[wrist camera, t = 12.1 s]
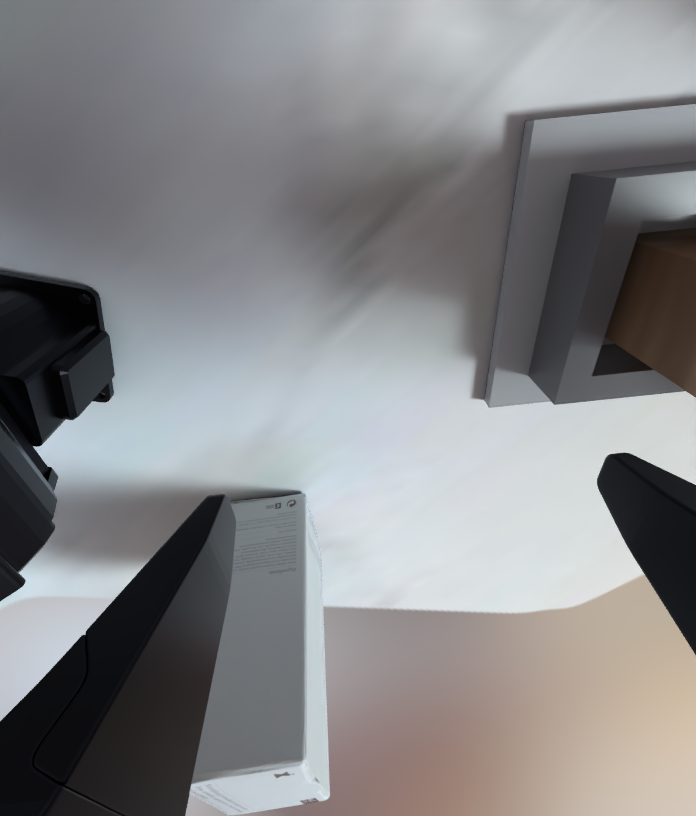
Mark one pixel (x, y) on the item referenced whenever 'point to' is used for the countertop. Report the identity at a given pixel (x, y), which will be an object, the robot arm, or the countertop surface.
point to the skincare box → (268, 668)
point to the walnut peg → (660, 305)
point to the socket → (585, 250)
